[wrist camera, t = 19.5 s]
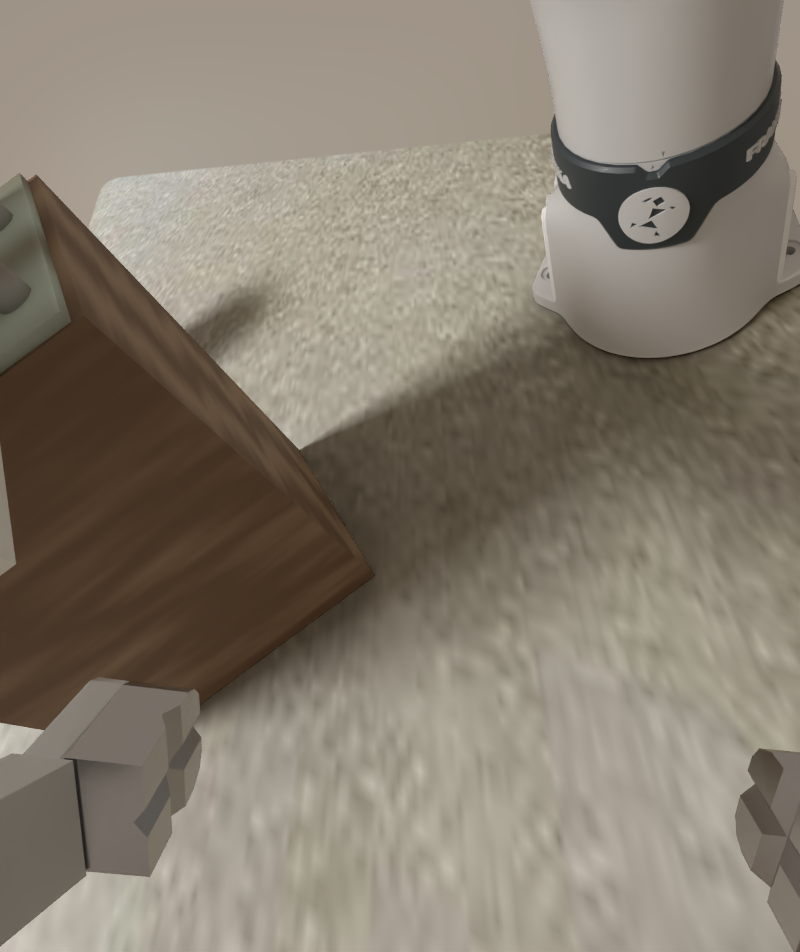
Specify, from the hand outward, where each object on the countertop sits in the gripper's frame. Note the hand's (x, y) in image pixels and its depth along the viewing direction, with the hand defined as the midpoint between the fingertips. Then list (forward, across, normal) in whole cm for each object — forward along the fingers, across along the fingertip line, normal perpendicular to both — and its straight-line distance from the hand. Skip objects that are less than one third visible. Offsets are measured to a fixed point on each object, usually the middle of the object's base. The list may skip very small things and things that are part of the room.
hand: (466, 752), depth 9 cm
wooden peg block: (+33, +15, +16) cm, 40 cm away
